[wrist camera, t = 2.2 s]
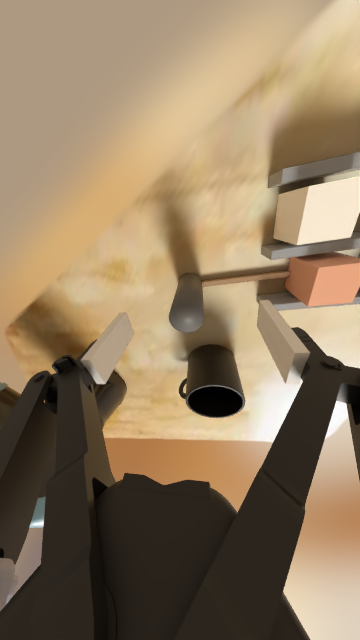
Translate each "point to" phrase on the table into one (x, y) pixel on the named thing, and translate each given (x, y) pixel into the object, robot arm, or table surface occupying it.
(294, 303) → the lane shelf
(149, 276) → the table surface
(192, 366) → the mug
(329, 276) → the block
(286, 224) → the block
